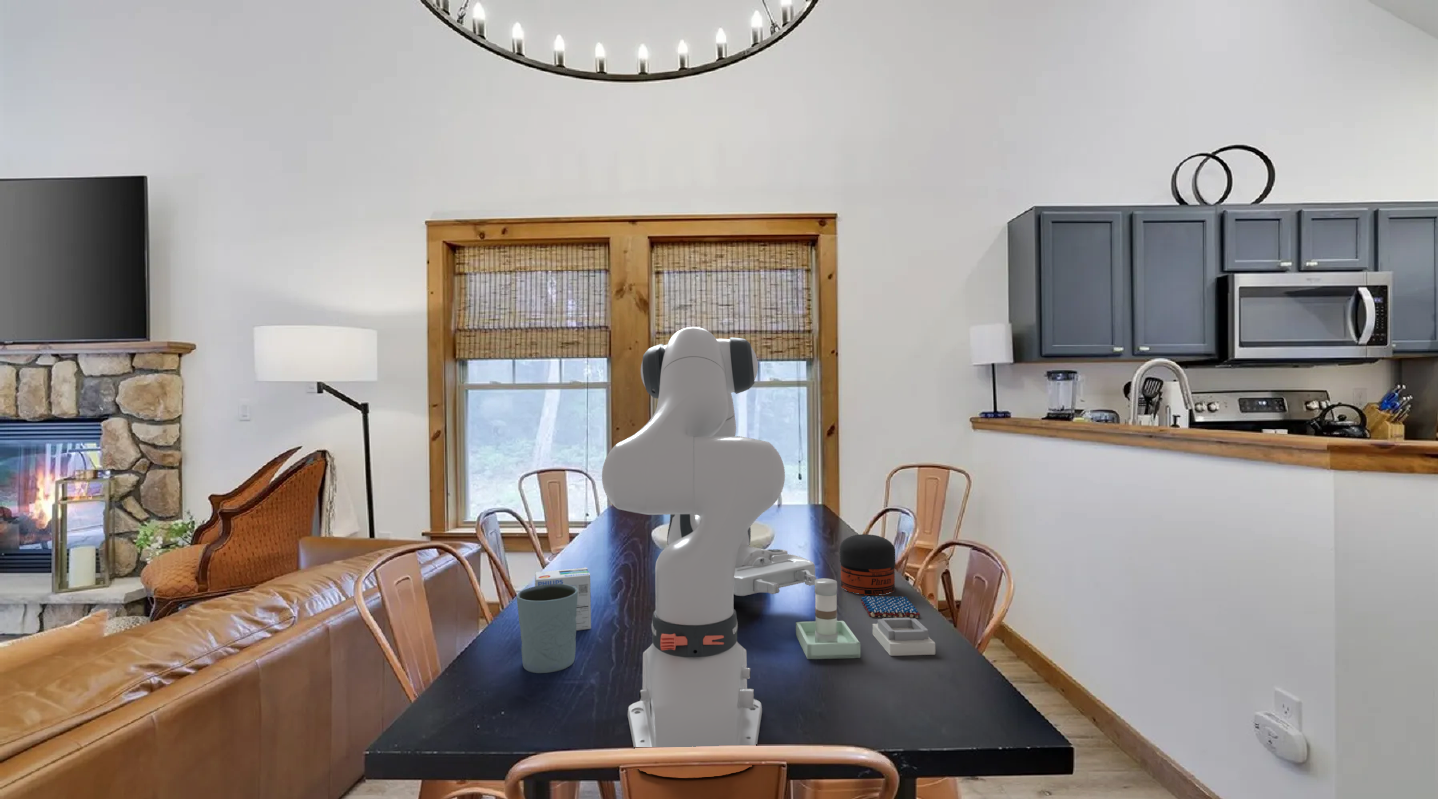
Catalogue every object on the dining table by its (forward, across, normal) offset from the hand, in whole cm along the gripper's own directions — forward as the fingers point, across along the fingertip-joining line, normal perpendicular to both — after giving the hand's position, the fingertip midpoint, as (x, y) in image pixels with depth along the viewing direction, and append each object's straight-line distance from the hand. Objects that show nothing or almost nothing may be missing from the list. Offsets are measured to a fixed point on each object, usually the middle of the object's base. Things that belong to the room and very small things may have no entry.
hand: (795, 585), depth 116 cm
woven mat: (+2, +25, +10) cm, 27 cm away
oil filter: (-12, +33, +9) cm, 36 cm away
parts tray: (+9, 0, +9) cm, 12 cm away
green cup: (-13, -44, +9) cm, 47 cm away
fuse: (+9, 0, +8) cm, 12 cm away
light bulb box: (-28, -37, +9) cm, 47 cm away
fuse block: (+16, +12, +9) cm, 22 cm away
